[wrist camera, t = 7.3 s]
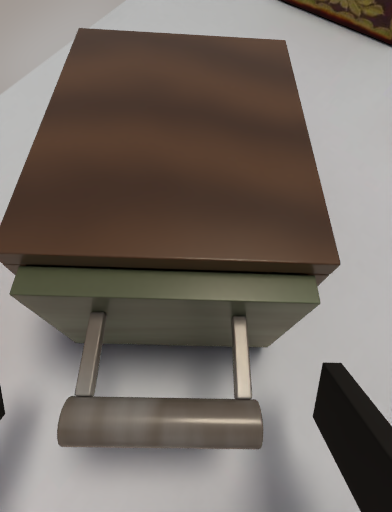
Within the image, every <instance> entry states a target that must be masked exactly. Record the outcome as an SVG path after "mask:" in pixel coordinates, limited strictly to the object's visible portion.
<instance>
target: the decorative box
mask: <svg viewBox="0 0 392 512" xmlns="http://www.w3.org/2000/svg"><path fill="white" fill-rule="evenodd" d="M282 1H285V2H287V3H289V4H292V5H294V6H297V7H299V8H302V9H304V10H307V11H309V12H312V13H314V14H317V15H319V16H322V17H324V18H327V19H329V20H331V21H334V22H336V23H339V24H341V25H344V26H346V27H349V28H351V29H354V30H356V31H359V32H361V33H364V34H366V35H369V36H371V37H374V38H376V39H378V40H381V41H383V42H386V43H389V44H391V45H392V0H282Z"/></svg>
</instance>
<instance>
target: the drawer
mask: <svg viewBox="0 0 392 512" xmlns="http://www.w3.org/2000/svg"><path fill="white" fill-rule="evenodd" d="M72 267H73V268H66V267H35V266H19V267H18V270H17V273H16V276H15V279H14V282H13V285H12V288H11V291H10V295H11V296H12V297H13V298H15V299H16V300H18V301H19V302H20V303H22V304H23V305H24V306H26V307H27V308H29V309H30V310H31V311H33V312H34V313H35V314H37V315H38V316H40V317H41V318H42V319H44V320H45V321H46V322H48V323H49V324H51V325H52V326H53V327H55V328H56V329H57V330H59V331H60V332H62V333H63V334H64V335H66V336H67V337H68V338H70V339H71V340H73V341H74V342H75V343H84V348H83V353H82V358H81V364H80V369H79V374H78V379H77V385H76V390H75V395H76V396H71V397H69V398H68V399H67V400H66V402H65V404H64V406H63V408H62V411H61V414H60V418H59V422H58V430H57V440H58V444H59V445H60V446H61V447H115V448H197V449H260V448H261V447H262V442H263V420H262V414H261V409H260V406H259V403H258V401H257V400H255V399H251V398H252V388H251V374H250V359H249V347H268V346H270V345H271V344H272V343H273V342H274V341H276V340H277V339H278V338H279V337H280V336H282V335H283V334H284V333H285V332H286V331H288V330H289V329H290V328H291V327H293V326H294V325H295V324H296V323H297V322H299V321H300V320H301V319H302V318H303V317H305V316H306V315H307V314H308V313H310V312H311V311H312V310H313V309H314V308H316V307H317V306H318V305H319V304H320V298H319V293H318V288H317V283H316V278H315V276H314V275H283V274H271V273H272V272H248V271H218V270H187V269H156V268H125V267H95V266H72ZM102 344H144V345H186V346H228V347H232V354H233V377H234V398H235V399H200V398H145V397H93V396H94V393H95V387H96V381H97V375H98V369H99V363H100V356H101V350H102Z"/></svg>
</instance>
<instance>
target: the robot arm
mask: <svg viewBox="0 0 392 512" xmlns="http://www.w3.org/2000/svg"><path fill="white" fill-rule="evenodd" d="M4 415H5V410H4V404H3V399H2V393H1V387H0V420H1V419H2V417H3V416H4ZM313 418H314V420H315V422H316V424H317V426H318V428H319V430H320V432H321V434H322V436H323V438H324V440H325V442H326V444H327V446H328V448H329V450H330V452H331V454H332V456H333V458H334V460H335V462H336V464H337V466H338V467H339V469H340V471H341V473H342V475H343V477H344V479H345V481H346V483H347V485H348V487H349V489H350V491H351V493H352V495H353V497H354V499H355V501H356V503H357V505H358V507H359V509H360V511H361V512H392V426H391V425H390V424H389V422H388V421H387V420H386V419H385V417H384V416H383V415H382V414H381V412H380V411H379V410H378V409H377V407H376V406H375V405H374V404H373V402H372V401H371V400H370V399H369V397H368V396H367V395H366V394H365V392H364V391H363V390H362V389H361V387H360V386H359V385H358V384H357V382H356V381H355V380H354V378H353V377H352V376H351V375H350V373H349V372H348V371H347V370H346V368H345V367H344V366H343V365H342V363H323V365H322V370H321V376H320V381H319V386H318V392H317V397H316V402H315V408H314V413H313Z"/></svg>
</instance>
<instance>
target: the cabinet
mask: <svg viewBox="0 0 392 512" xmlns="http://www.w3.org/2000/svg"><path fill="white" fill-rule="evenodd" d="M0 262H1V263H3V265H4V266H5V267H6V268H8V269H9V270H10V271H11V272H12V273H13V274H15V275H16V273H17V270H18V267H19V266H35V267H66V268H73V267H72V266H95V267H125V268H156V269H187V270H218V271H248V272H272V273H271V274H283V275H314V276H315V278H316V283H317V286H318V285H319V284H320V283H322V282H323V281H324V280H325V279H326V278H327V277H328V276H329V274H331V273H332V272H333V271H334V270H335V269H336V268H337V267H338V266H339V265H340V259H339V255H338V251H337V247H336V243H335V239H334V235H333V231H332V227H331V223H330V219H329V215H328V211H327V207H326V203H325V199H324V195H323V191H322V187H321V183H320V179H319V175H318V171H317V167H316V163H315V158H314V154H313V150H312V146H311V142H310V138H309V134H308V130H307V126H306V122H305V118H304V114H303V110H302V106H301V102H300V98H299V94H298V90H297V86H296V82H295V78H294V74H293V70H292V66H291V62H290V57H289V53H288V49H287V45H286V41H285V40H272V39H255V38H238V37H221V36H204V35H187V34H170V33H153V32H136V31H119V30H103V29H85V28H84V29H83V28H79V29H78V32H77V34H76V37H75V39H74V42H73V44H72V47H71V49H70V52H69V54H68V57H67V59H66V62H65V64H64V67H63V70H62V72H61V75H60V77H59V80H58V82H57V85H56V87H55V90H54V92H53V95H52V97H51V100H50V102H49V105H48V107H47V110H46V112H45V115H44V117H43V120H42V122H41V125H40V127H39V130H38V132H37V135H36V137H35V140H34V142H33V145H32V147H31V150H30V152H29V155H28V157H27V160H26V162H25V165H24V167H23V170H22V172H21V175H20V177H19V180H18V182H17V185H16V187H15V190H14V192H13V195H12V197H11V200H10V202H9V205H8V207H7V210H6V212H5V215H4V217H3V220H2V222H1V225H0Z"/></svg>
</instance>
